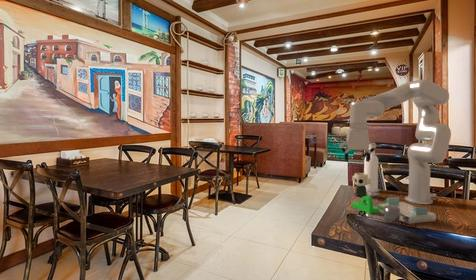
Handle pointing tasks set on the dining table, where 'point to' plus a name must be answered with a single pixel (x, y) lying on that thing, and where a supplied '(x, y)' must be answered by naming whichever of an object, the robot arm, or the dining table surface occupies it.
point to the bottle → (371, 171)
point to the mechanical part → (366, 205)
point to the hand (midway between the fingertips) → (357, 161)
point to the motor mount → (405, 212)
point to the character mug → (361, 183)
